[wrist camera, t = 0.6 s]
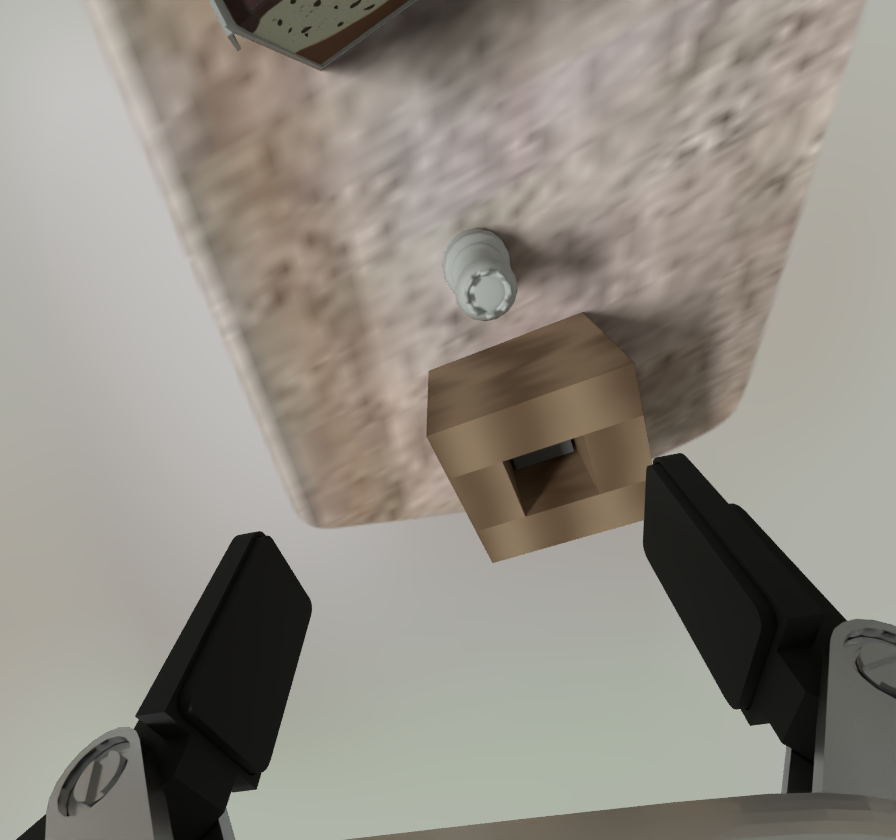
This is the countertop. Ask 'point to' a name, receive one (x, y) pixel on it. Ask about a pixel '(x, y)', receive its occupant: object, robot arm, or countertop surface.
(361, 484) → the countertop surface
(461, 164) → the countertop surface
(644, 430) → the socket block
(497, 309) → the rook chess piece
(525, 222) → the countertop surface
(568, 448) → the black rectangular box
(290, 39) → the food container
